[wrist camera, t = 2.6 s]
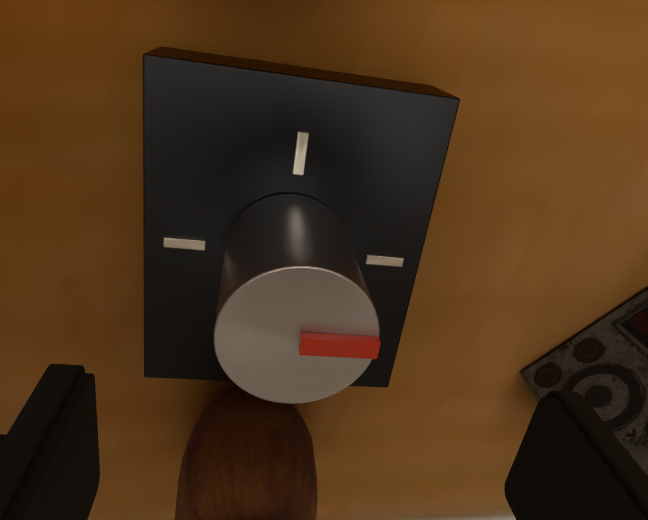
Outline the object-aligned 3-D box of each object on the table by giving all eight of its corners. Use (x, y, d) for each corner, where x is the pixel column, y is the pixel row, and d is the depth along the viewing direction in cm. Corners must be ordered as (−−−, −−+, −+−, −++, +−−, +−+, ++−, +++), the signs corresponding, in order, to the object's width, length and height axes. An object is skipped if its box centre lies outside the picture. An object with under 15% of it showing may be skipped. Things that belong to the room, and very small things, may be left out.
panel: (157, 334, 23) (142, 380, 20) (160, 46, 18) (141, 54, 15) (374, 346, 25) (389, 390, 22) (433, 85, 20) (462, 99, 17)
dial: (222, 300, 19) (208, 409, 14) (230, 186, 17) (217, 264, 12) (338, 308, 20) (366, 414, 15) (357, 200, 18) (397, 278, 13)
